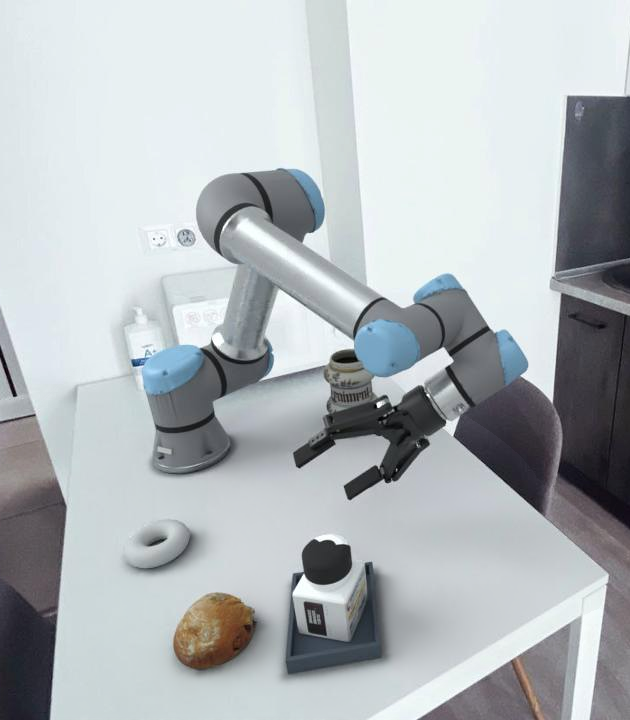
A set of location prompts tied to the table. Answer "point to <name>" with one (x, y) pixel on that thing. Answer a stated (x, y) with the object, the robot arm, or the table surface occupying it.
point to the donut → (158, 554)
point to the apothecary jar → (347, 381)
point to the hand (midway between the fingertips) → (322, 478)
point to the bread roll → (213, 631)
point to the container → (330, 589)
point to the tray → (329, 652)
